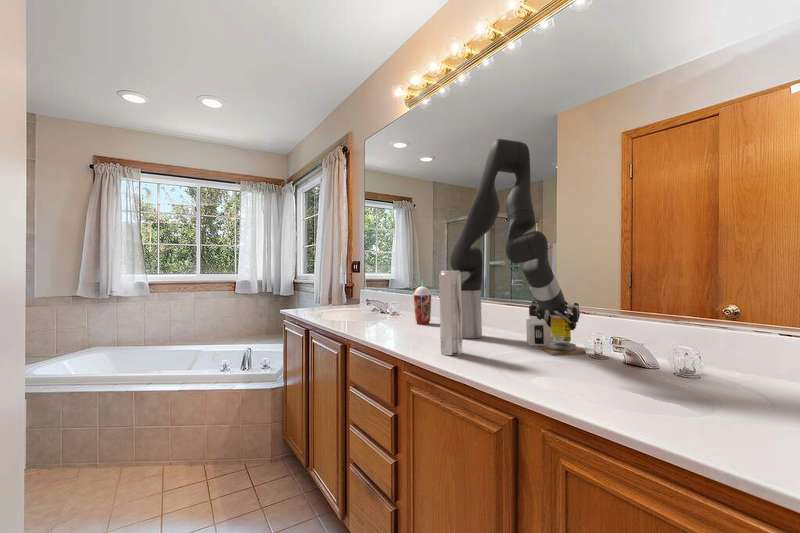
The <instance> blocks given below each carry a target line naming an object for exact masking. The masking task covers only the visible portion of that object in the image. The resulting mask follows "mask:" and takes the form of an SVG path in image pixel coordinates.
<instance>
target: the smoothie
mask: <svg viewBox="0 0 800 533" xmlns="http://www.w3.org/2000/svg"><path fill="white" fill-rule="evenodd" d="M420 284H421V286H419V287H417V288H415V290H414V293H413V302H414V303H413V305H414V317H415V322H416V324H417V325H421V324H422V325H424V326H425V325H429V324H430V322H431V313H432V310H431V308H432V293H431V291H430V289H429V288H428V287H426V286H424V282H423V279H421V282H420Z"/></svg>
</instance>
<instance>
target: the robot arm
mask: <svg viewBox="0 0 800 533" xmlns="http://www.w3.org/2000/svg"><path fill="white" fill-rule="evenodd" d="M491 144H492V145H491V147H490V148H489V150H488V154H487V157H486V160H485V165H484V167H483V172H482V173H481V174H482V176H481V178H480V181H479V184H478V187H477V190H476V193H475V195H474V197H473V200H472V202H471V206H470V208H469V211H468V213H467V217H466V220H465V222H464V225H463V228H462V230H461V233H460V235H459V237H458V239H457V240H456V242H455V244H454V247H453V249H452V251H451V254H450V259H449V261H450V262H449V264H450V267H451V269H452V271H460V273H468V274H467V276H466V277H465V278H463V279H461V305H462V339H477V338H478V339H480V338H482V337H483V327H482V326H483V322H482V321H483V320H482V319H483V318H482V283H483V254H482V251H481V249H480V247H478V246H473V245H474V243H476V242H477V241H478V240H480V239H481V238H482V237H483V236H484V235H486V234H487V233H488V232H489V231H490V230H492V228H493V227H494V224H495V222H496V220H497V217H498V215H499V212H500V208H501V206H500V200H499V197H498V194H497V190H496V184H495V183H496V178H497V175H498V173H500V172H501V173H509V174H514V175H515V184H514V185H513V187H512V188H511V190H510V192H509V194H508V195H507V198H506V203H505V211H506V218H507V222H508V223H507V224H508V226H507V227H508V228H507V234H506V235H507V236H506V240H505V254H506V257H507V259H508V260H509V261H510V262H511V263H513V264H515V265H516V264H522V263H524V264H523V266H522V272H523V275H524V277H525V279H526V281H527V283H528V286H529V290H530V292H531V294H532V296H533V298H534V300H532V301H531V304H530V305H529V306H530V309H531V310H532V312H533V313H534V314H535V316H536V317H537V318H538V319H539V320H541V319H544V321H546V323H547V325H548V326H549V327H550V328H551V315H558V316H560V317H561V318H562V319H565V320H566V321H567V322H568V325H569V327H570V329H571V331H574V330H576V328H577V323H578V322H579V320H580V315H581V314H580V313H581V312H580V305H579V303H578V302H574V303H573V304H571V303H570V304H569V303H568V302H567V301H566V300H565V296H564V293H563V291H562V289H561V286H560V284H559V281H558V279H557V277H556V276H555V274H554V272H553V270H552V267H551V266H550V261H549V244H548V239H547V236H546V235H545V234H544V233H543V232H541V231H539V230H534V231H531V230H532V229H533V228H535V226H536V217H535V212H534V207H533V201H532V194H531V157H530V156H531V155H530V149H529V146H528V144H526V143H524V142H523V141H518V140H517V141H516V140H510V139H503V138H498V139H496V140H494V141H493V143H491ZM529 231H530V232H529ZM541 309H542V310H543V311H545V313H544V312H543V311H542V310H541ZM568 316H569V317H568Z"/></svg>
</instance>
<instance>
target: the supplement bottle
mask: <svg viewBox="0 0 800 533" xmlns="http://www.w3.org/2000/svg"><path fill="white" fill-rule="evenodd" d="M550 316H551V341H552V342H556V343H571V339H572V336H571V333H572V332H571V331H572V330H571V329H570V327H569V325H568V322H567V321H566V320H565V319H562V318H561V317H560V316H558V315H550ZM568 317H569V316H568Z"/></svg>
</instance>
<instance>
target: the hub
mask: <svg viewBox="0 0 800 533" xmlns="http://www.w3.org/2000/svg"><path fill="white" fill-rule="evenodd" d="M576 346H577V345H576V344H575V343H572V342H569V343H556V342H549V343H547V345H539V346H537V347H539V348H541V349H543V350H544V351H543V350H542V351H543V352H545V351H546V352H545V353H547V354H549V355H551V356H570V355H571V356H572V355H587V351H586V350H583V349H581V348H579V347H576ZM539 348H538V349H539ZM541 349H540V350H541Z"/></svg>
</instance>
